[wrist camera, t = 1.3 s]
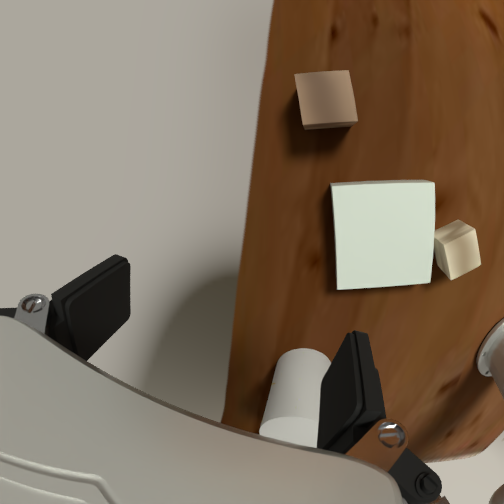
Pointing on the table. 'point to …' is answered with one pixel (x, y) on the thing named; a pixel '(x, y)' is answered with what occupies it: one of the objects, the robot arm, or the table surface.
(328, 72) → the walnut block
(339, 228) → the plate
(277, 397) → the white cylinder
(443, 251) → the birch block
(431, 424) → the table surface
